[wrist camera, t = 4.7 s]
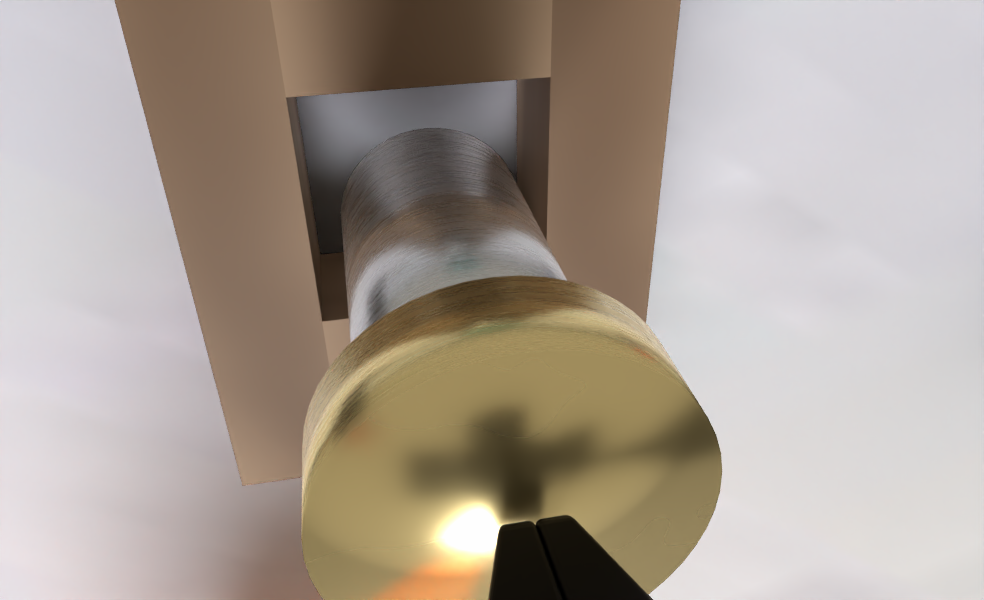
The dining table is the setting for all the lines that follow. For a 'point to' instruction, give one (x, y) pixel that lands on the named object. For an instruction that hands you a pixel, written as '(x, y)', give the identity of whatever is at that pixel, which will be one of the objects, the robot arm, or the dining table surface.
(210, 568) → the dining table surface
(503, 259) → the brass plug
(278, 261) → the socket block
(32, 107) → the dining table surface
